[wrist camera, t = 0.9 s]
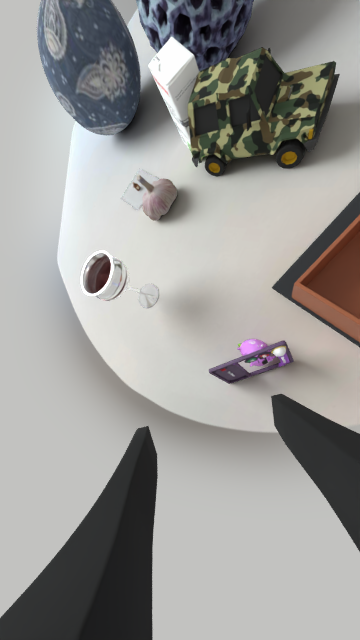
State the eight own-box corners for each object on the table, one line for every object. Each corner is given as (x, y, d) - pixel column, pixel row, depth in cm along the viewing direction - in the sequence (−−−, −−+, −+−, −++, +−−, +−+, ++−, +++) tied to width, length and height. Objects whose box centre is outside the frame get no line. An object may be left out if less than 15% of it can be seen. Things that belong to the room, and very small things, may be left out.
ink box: (221, 141, 34) (195, 51, 24) (199, 162, 36) (166, 87, 26) (201, 119, 38) (170, 32, 27) (181, 140, 39) (146, 65, 29)
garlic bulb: (153, 229, 39) (125, 203, 32) (147, 203, 41) (120, 172, 34) (184, 209, 36) (161, 175, 29) (176, 182, 38) (153, 143, 31)
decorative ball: (170, 101, 43) (94, -72, 25) (112, 170, 49) (20, 71, 32) (140, 71, 50) (66, -78, 33) (93, 135, 57) (11, 39, 39)
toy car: (313, 166, 26) (329, 74, 18) (197, 178, 36) (170, 122, 27) (335, 102, 26) (361, -21, 18) (213, 131, 36) (191, 60, 27)
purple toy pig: (210, 378, 22) (290, 349, 19) (200, 340, 25) (267, 310, 22) (230, 389, 27) (297, 367, 23) (220, 356, 30) (277, 332, 27)
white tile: (158, 178, 41) (153, 171, 39) (137, 210, 42) (132, 204, 41) (139, 168, 44) (133, 161, 43) (120, 198, 46) (114, 192, 44)
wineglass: (167, 282, 35) (119, 252, 25) (155, 316, 35) (103, 301, 25) (141, 276, 39) (89, 248, 28) (130, 307, 39) (75, 291, 28)
